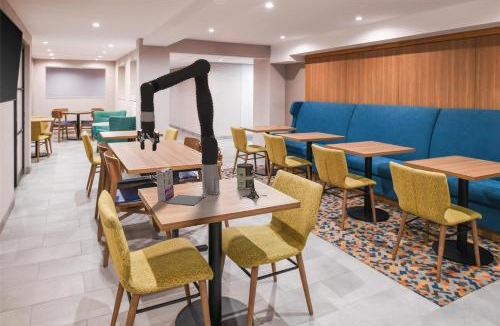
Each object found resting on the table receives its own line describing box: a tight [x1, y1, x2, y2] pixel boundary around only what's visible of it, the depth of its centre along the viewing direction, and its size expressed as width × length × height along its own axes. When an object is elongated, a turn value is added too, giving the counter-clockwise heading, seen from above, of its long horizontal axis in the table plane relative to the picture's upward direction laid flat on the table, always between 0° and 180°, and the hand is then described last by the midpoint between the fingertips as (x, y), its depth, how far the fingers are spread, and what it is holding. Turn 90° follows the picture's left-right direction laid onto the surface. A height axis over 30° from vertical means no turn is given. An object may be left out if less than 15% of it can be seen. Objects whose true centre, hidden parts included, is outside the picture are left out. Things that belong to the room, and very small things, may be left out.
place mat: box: [164, 194, 207, 207], centre depth 202 cm, size 17×16×1 cm
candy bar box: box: [155, 167, 175, 202], centre depth 204 cm, size 11×5×16 cm, turn 168°
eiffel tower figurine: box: [239, 176, 268, 200], centre depth 206 cm, size 15×10×13 cm
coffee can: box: [236, 162, 254, 190], centre depth 227 cm, size 10×10×14 cm
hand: (148, 150), depth 203 cm, fingers open, 8 cm apart
